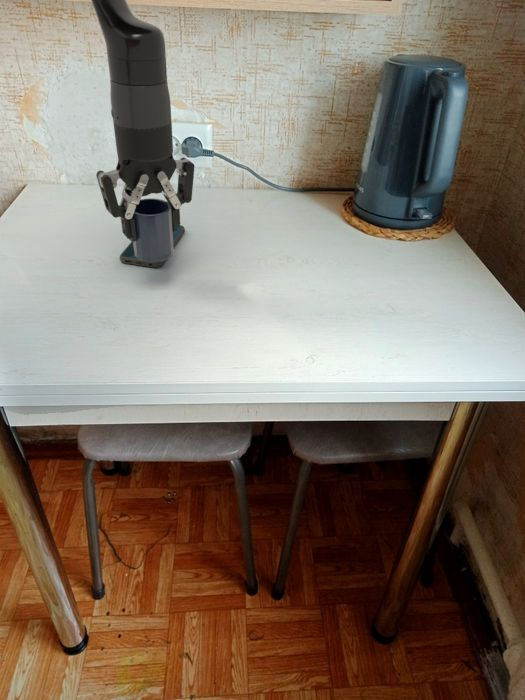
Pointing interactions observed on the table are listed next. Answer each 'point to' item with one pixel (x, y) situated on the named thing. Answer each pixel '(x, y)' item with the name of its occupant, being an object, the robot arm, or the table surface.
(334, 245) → the table surface
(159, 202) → the pot
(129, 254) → the smartphone
